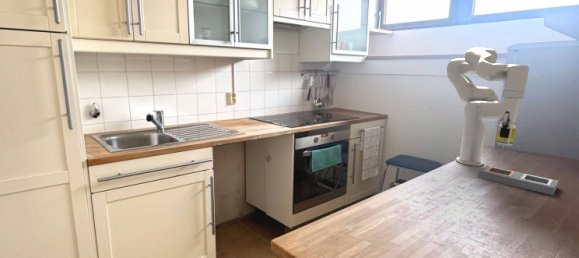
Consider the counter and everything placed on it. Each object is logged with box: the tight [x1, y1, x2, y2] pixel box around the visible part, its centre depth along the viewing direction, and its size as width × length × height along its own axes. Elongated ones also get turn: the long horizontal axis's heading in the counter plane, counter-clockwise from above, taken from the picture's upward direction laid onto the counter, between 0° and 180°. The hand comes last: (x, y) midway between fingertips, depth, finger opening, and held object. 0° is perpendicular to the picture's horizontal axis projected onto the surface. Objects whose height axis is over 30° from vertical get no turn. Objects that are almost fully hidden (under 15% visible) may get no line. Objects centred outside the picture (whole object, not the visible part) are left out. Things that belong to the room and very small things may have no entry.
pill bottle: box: [495, 120, 517, 147], centre depth 137 cm, size 6×6×11 cm
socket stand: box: [478, 165, 559, 196], centre depth 136 cm, size 12×26×3 cm, turn 45°
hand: (505, 135), depth 138 cm, fingers closed on pill bottle, 6 cm apart
